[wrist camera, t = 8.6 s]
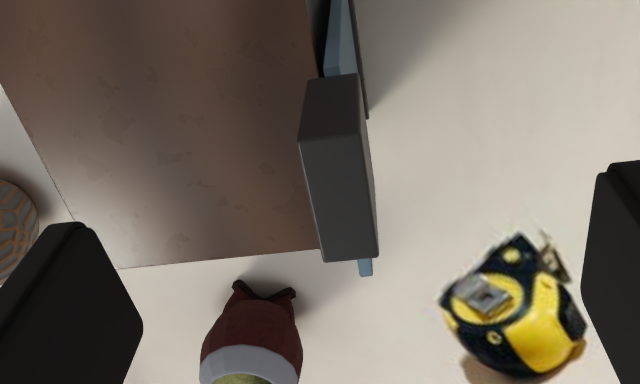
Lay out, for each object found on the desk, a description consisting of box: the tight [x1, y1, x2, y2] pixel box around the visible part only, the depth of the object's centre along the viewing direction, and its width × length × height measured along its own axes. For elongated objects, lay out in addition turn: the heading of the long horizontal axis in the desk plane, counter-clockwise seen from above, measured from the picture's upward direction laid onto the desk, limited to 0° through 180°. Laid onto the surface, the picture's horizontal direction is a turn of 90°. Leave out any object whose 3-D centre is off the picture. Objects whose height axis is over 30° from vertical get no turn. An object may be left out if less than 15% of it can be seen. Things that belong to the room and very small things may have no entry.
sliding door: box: [296, 0, 379, 277], centre depth 22 cm, size 2×9×16 cm, turn 10°
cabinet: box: [0, 0, 369, 269], centre depth 22 cm, size 12×18×12 cm
